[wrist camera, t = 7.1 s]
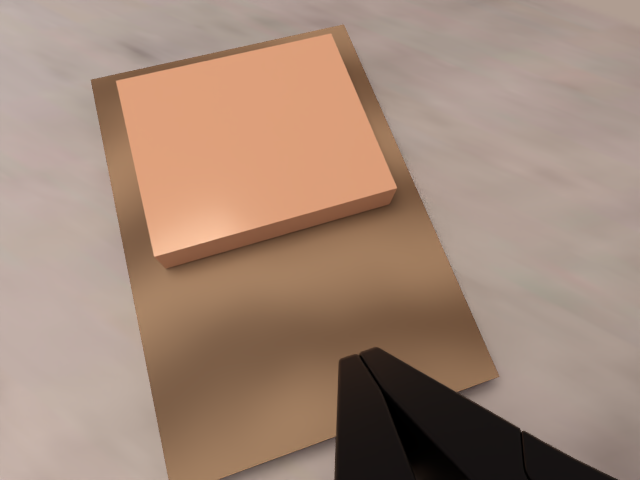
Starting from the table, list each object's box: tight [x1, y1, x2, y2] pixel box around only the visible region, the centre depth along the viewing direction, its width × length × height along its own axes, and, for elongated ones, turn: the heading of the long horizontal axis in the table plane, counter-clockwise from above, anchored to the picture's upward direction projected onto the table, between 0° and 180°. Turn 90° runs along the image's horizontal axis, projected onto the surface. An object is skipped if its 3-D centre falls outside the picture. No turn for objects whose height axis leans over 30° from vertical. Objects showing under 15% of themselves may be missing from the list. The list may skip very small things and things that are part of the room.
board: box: [91, 25, 499, 480], centre depth 20 cm, size 19×13×2 cm
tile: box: [116, 34, 397, 269], centre depth 20 cm, size 2×10×8 cm
